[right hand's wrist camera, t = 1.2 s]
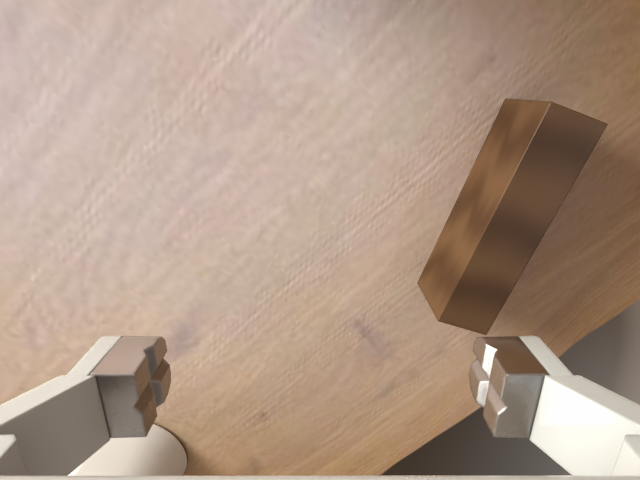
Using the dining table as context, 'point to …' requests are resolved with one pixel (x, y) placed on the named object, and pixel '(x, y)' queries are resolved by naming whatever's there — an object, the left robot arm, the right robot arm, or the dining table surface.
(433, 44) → the dining table surface
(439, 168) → the dining table surface
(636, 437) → the right robot arm
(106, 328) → the dining table surface
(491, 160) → the bar
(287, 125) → the dining table surface
